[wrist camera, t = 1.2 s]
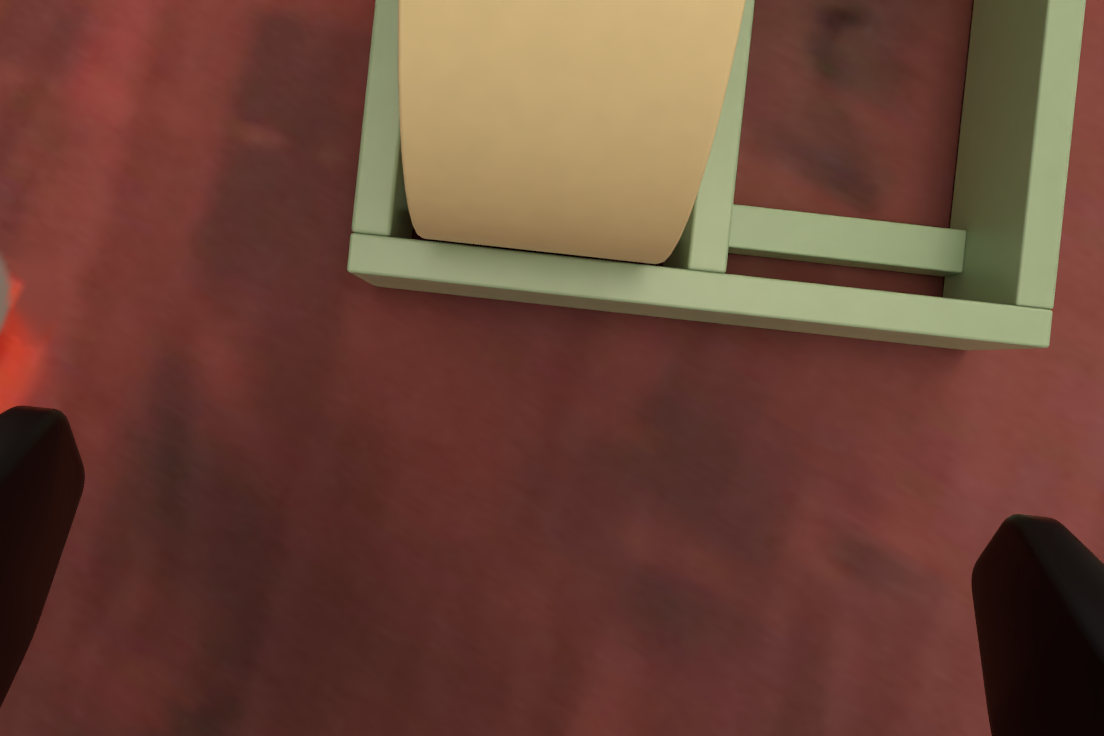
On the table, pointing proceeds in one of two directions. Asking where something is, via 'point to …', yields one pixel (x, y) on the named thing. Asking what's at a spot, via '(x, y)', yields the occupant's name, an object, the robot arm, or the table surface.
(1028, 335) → the green divided tray
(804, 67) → the table surface
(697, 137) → the masking tape roll
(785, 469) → the table surface
